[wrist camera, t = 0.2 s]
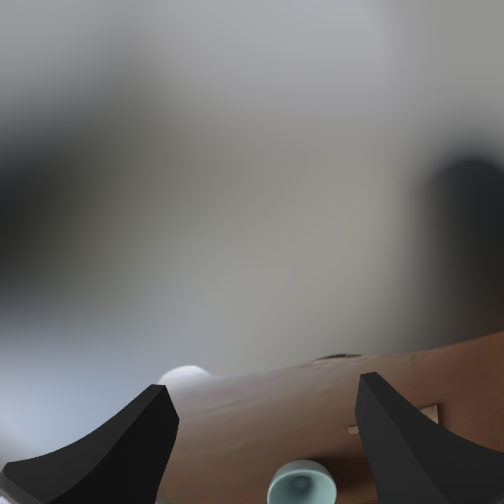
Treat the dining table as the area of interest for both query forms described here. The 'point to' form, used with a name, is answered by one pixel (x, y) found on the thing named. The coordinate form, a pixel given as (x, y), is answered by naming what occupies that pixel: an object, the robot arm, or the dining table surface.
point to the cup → (302, 484)
